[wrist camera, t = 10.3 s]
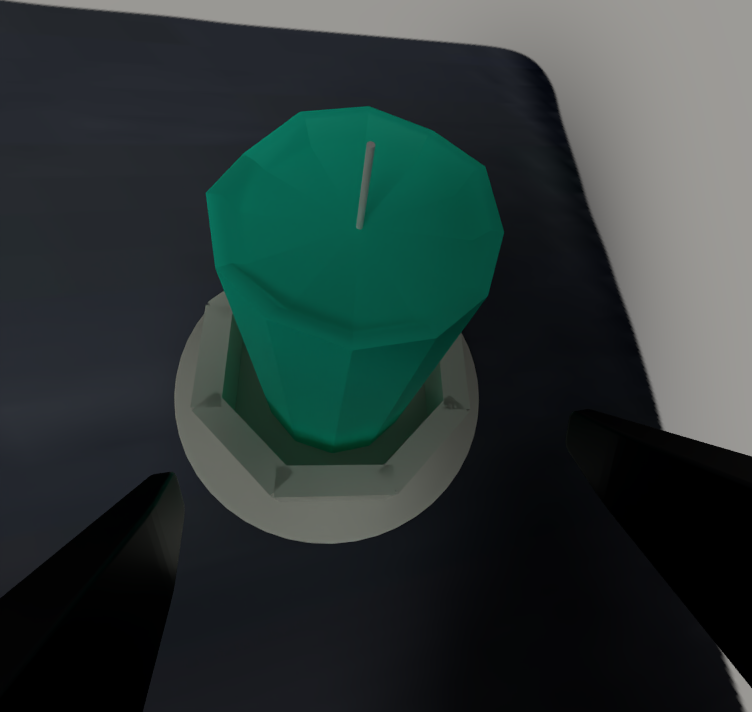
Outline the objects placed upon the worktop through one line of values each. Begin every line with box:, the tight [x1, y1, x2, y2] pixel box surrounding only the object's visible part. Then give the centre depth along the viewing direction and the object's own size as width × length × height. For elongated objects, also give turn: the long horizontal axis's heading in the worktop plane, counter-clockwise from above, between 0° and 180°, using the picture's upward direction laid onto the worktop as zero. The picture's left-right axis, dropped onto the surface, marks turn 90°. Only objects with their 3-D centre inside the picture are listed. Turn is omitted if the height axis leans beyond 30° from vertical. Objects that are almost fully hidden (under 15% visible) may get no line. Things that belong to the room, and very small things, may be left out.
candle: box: [206, 106, 504, 453], centre depth 12 cm, size 6×6×12 cm
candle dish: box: [174, 291, 479, 544], centre depth 17 cm, size 13×13×4 cm
